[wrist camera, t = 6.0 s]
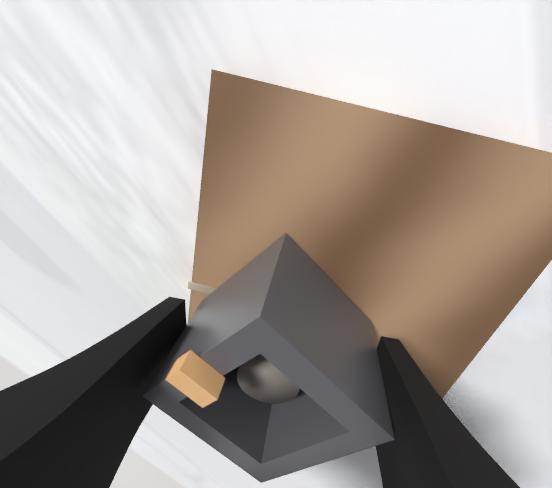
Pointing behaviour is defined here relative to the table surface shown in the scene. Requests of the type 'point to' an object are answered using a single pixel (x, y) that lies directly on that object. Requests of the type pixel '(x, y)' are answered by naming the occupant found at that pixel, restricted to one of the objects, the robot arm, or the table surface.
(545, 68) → the table surface
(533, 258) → the board
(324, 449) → the grey hollow cube
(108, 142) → the table surface
